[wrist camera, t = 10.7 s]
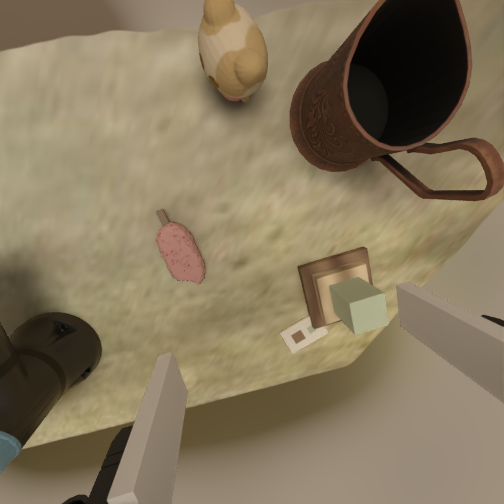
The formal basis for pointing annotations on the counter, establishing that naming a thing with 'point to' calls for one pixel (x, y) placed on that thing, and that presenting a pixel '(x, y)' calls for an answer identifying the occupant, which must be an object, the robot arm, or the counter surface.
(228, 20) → the toy
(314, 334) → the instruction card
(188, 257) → the ice cream bar
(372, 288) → the sage brick
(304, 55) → the counter surface
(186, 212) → the counter surface
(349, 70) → the cup holder
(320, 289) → the base brick
